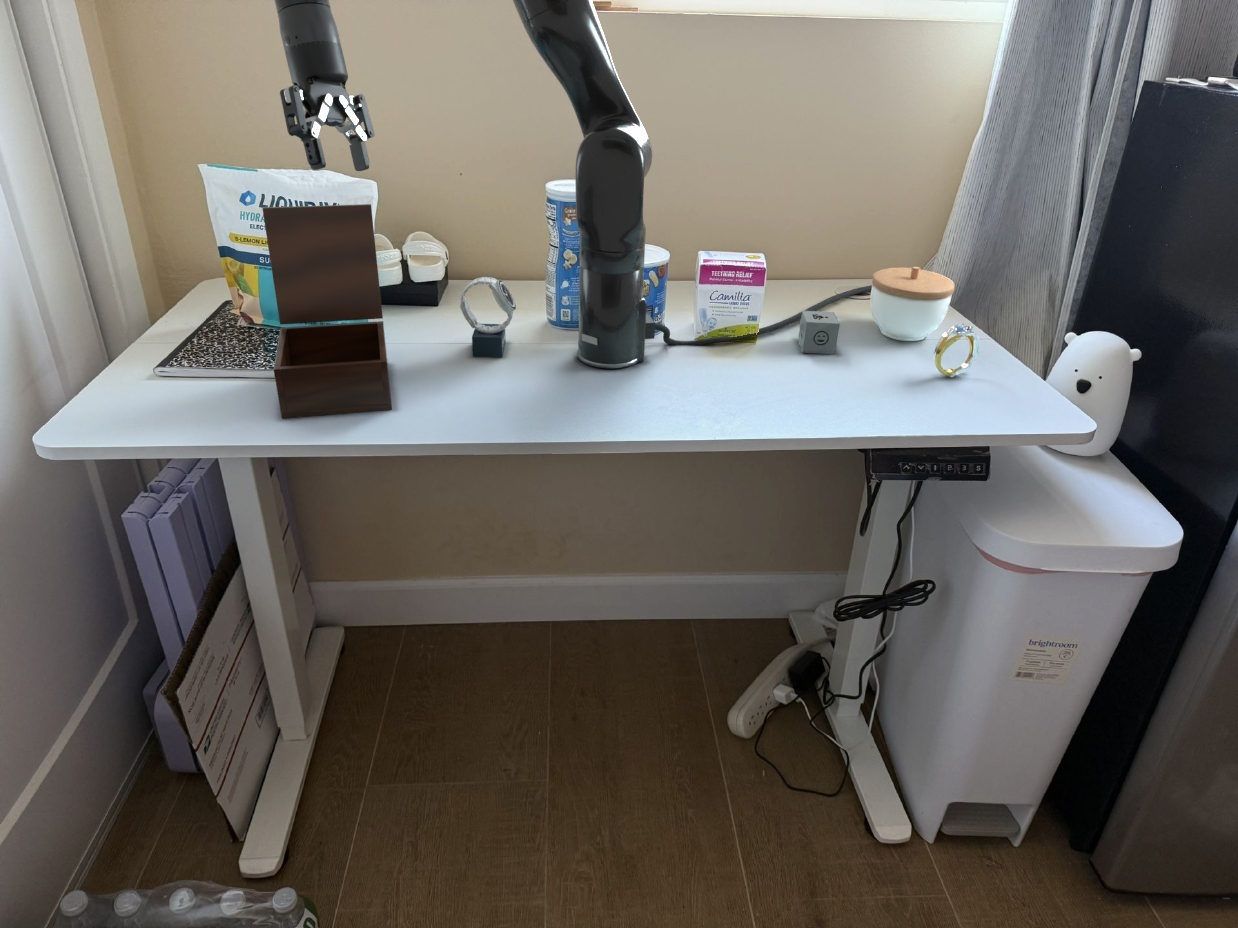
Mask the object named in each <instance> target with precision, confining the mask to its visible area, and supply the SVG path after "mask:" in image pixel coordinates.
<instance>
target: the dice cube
mask: <svg viewBox="0 0 1238 928" xmlns="http://www.w3.org/2000/svg"><path fill="white" fill-rule="evenodd" d="M801 312H802V316H801V319H800V324H799V331H798V338H797V342H798V345H799V347H800V350H801V353H802V354H823V355H835V354H836V350H837V344H838V338H839V333H840V332H839V331H840V326H841V323H840V320H839V318H838V317H837V315H836V313H835V311H819V310H816V311H804V310H802V311H801Z"/></svg>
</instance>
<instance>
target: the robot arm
mask: <svg viewBox="0 0 1238 928" xmlns="http://www.w3.org/2000/svg"><path fill="white" fill-rule="evenodd" d="M273 1H274V5H275V9H276V13H277V17H278V26H279V33H280V38H281V42H282V47H283V49H284V55H285V58H286V63H287V67H288V72H289V75H290V79H291V83H292V85H291V86H288V87H285V88H282V89H280V91H279V96H280V100H281V106H282V110H283V116H284V120H285V121H284V122H285V125H286V130H287V133H288V135H289V136H291V137H294V136H295V137H297V138H299V140H300V141H301V142H302V143H303V148H304V152H305V156H306V160H307V163H308V165H309V167H310V169H311V170H313V171H318V170H322V169H324V168H326V166H327V162H326V158H325V154H324V149H323V145H322V141H321V138H319V134H320V132H321V129H322V127H323V126H328V127H330V128H331V127H332V128H333V127H334V128H335V129H336V131H337V132H338V133H340V134H342V135H343V136H344V137H345V139H346V140H347V141H348V143H349V150H350V155H351V159H352V163H353V168H354V170H355V171H356V172H364V171H367V170H369V168H370V159H369V158H370V157H369V155H368V154H369V153H368V149H367V145H366V143H367V142H366V141H367V140H369V139H372V138H374V137H375V130H374V127H373V123H372V120H371V115H370V112H369V108H368V105H367V100H366V97H365V96H364V94H363V93H359V94H355V95H350V94H349V93H348V91H347V88H346V84H347V81H348V80H349V74H348V69H347V65H346V60H345V57H344V53H343V48H342V43H341V39H340V34H339V31H338V27H337V23H336V21H335V18H334V14H333V12H332V8H331V4H330V0H273ZM512 3H513V4H514V7H515V9H516V12H517V14H518V16H519V18H520V21H521V23H522V26H523V28H524V30H525V32H526V34H527V36H528V38H529V40H530V42H531V43H532V45H533V47H534V48H535V50H536V52H537V53H538V55H539V56H540V57H541V59H542V60H543V62H544V63H545V65H546V66H547V67H548V69H549V70H550V71H551V73H552V74H553V75H554V77H555V79H556V80H557V81H558V82H559V84H560V86H561V87H562V88H563V90H564V92H565V93H566V95H567V96H568V100H569V101H570V104H571V106H572V109H573V110H574V113H575V116H576V118H577V122H578V125H579V127H580V130H581V134H582V137H583V139H582V141H581V142H580V144H579V146H578V149H577V153H576V159H575V174H574V175H575V177H574V178H575V217H576V224H577V228H578V232H579V261H578V262H579V271H578V272H579V274H578V275H579V277H578V288H579V289H578V342H577V347H578V348H577V358H578V359H579V360H580V362H582V363H583V364H586V365H588V366H590V367H595V368H600V369H621V368H622V369H623V368H627V367H630V366H633V365H635V364H639V363H644V362H645V347H646V346H645V345H646V340H652V339H655V337H656V336H655V334H656V331H659V332H662V333H663V334H662V335H663V336H662V337H663V342H664V343H665V344H667V345H669V346H695V347H696V346H699V347H700V346H709V345H715V344H721V343H730V342H735V341H742V340H746V339H750V338H754V337H757V336H761V335H765V334H768V333H771V332H774V331H777V330H779V329H782V328H785V327H787V326H789V325H791V324H793V323H796V322H798V321H799V320H800V321H801V316H802V311H800V312H799V313H797V314H794V315H793V316H790V317H788V318H785V319H783V320H780V321H778V322H776V323H773V324H770V325H767V326H763V327H760V328H758V329H759V332H758V333H757V335H756V333H754V334H747V335H743V336H737V337H731V338H730V337H728V335H721V336H720V337H719V336H714V337H706V338H700V339H695V340H677V339H673V338H671V331H670V329H669V328H668V327H667V326H666V325H664V324H661V323H658V322H655V320H654V319H653V318H652V316H651V315H650V314H649V313H648V311H647V305H648V303H647V299H646V298H645V296H644V278H645V277H644V275H645V253H646V235H647V234H646V233H647V227H646V224H645V222H644V192H645V191H644V190H645V189H644V188H645V178H646V176H647V175H648V173H649V171H650V169H651V165H652V162H653V148H652V143H651V140H650V138H649V136H648V133H647V131H646V129H645V127H644V126H643V123H642V122H641V120H640V117H639V116H638V114H637V112H636V110H635V108H634V106H633V104H632V102H631V101H630V98H629V96H628V94H627V92H626V90H625V88H624V86H623V84H622V82H621V80H620V78H619V75H618V73H617V70H616V68H615V65H614V62H613V58H612V54H611V52H610V48H609V46H608V43H607V39H606V37H605V34H604V31H603V28H602V26H601V23H600V19H599V17H598V14H597V11H596V8H595V5H594V2H593V0H512ZM346 120H347V121H346ZM362 124H363V126H362ZM363 127H364V130H363ZM352 131H353V132H354V133H353V132H352ZM871 290H872V284H870V285H866V286H861V287H856V288H852V289H849V290H846V291H843V292H840V293H837V294H835V295H832V296H830V297H828V298H825V299H824V300H821V301H819V302H818V303H816V304H813V305H812V306H809V307H808V308H806V309H804V310H803V311H819V310H820V309H823V308H824V307H826V306H828V305H830V304H832V303H835V302H837V301H840V300H842V299H843V300H844V299H845V298H848V297H851V296H854V295H857V294H862V293H867V292H871Z"/></svg>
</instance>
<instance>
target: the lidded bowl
mask: <svg viewBox="0 0 1238 928" xmlns="http://www.w3.org/2000/svg"><path fill="white" fill-rule="evenodd" d="M871 285H872V290H871V291H870V298H869V299H870V301H869V303H870V312H871V317H872V318H873V321H874V322H875V324H876V326H877V327H878V328H879V329H880V333H881V334H882V335H883V336H885V337H887V338H889V339H893V340H895V341H896V340H897V341H900V342H901V341H903V342H919V341H922V340H924V339H925V338H926V337H927V336H928V335H930V334H931V333H932V332H934V331H935V330H936V329H938V328H939V326H940V325H941V324H942V322H943V321H944V319H945V318H946V315H947V313H948V311H949V308H950V305H951V301H952V295H953V294H954V292H955V287H956V284H955V282H954V281H953V280H952V279H950V278H949V277H947V276H945V275H943V274H940V273H939V272H938V273H937V272H934V271H930V270H926V269H921V267H919V266H912V267H888V268H883V269H880V270H877V271H876V272H874V273H873V275H872V278H871Z"/></svg>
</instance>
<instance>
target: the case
mask: <svg viewBox="0 0 1238 928" xmlns="http://www.w3.org/2000/svg"><path fill="white" fill-rule="evenodd" d="M384 326H385V325H384V321H383V320H380V321H379V320H378V321H360V322H342V323H329V324H312V325H310V324H309V325H294V326H281V327H280V331H279V336H278V341H277V346H276V347H277V348H276V352H275V360H274V365H273V374H274V375H273V376H274V380H275V386H276V392H277V398H278V403H279V409H280V415H281V419H294V418H295V419H296V418H307V417H319V416H331V415H344V414H345V415H346V414H356V413H366V412H367V413H368V412H379V411H380V412H381V411H391V410H393V405H392V395H391V386H390V375H389V374H390V373H389V364H388V355H387V345H386V336H385V334H386V333H385V327H384Z"/></svg>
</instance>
